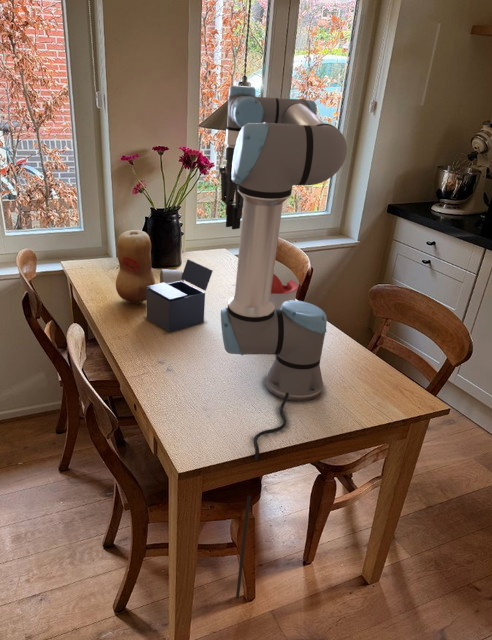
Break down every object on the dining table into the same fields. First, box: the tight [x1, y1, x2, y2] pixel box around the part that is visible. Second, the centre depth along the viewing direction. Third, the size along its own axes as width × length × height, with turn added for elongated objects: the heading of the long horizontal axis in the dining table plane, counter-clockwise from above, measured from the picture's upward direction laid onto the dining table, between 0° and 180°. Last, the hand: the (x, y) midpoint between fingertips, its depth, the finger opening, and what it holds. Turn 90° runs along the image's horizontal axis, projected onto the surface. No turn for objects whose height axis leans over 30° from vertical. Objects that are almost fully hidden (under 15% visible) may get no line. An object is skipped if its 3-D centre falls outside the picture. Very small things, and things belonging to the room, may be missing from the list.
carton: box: [145, 281, 206, 334], centre depth 174 cm, size 14×13×11 cm
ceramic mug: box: [159, 268, 185, 284], centre depth 200 cm, size 11×8×8 cm
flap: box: [181, 258, 213, 292], centre depth 174 cm, size 7×13×1 cm
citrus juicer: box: [270, 273, 299, 309], centre depth 168 cm, size 16×17×20 cm
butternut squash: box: [115, 229, 156, 305], centre depth 182 cm, size 14×13×25 cm
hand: (232, 227), depth 166 cm, fingers open, 2 cm apart
